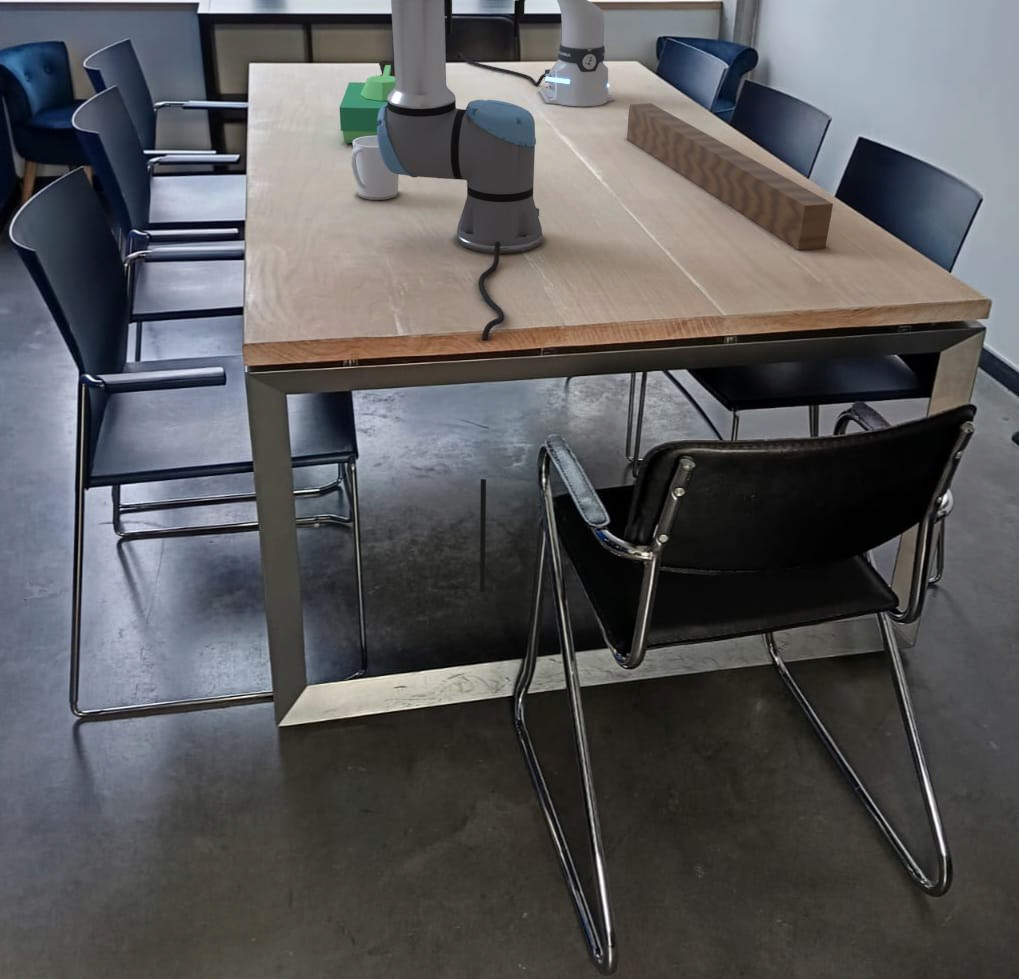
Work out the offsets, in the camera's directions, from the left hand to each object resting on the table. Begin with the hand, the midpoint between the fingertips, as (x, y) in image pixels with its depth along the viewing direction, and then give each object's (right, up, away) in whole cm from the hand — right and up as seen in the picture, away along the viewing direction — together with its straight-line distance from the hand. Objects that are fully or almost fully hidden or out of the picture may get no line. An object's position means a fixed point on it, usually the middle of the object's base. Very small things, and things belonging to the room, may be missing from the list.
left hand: (482, 34), depth 223 cm
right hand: (+35, +29, +22) cm, 50 cm away
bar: (+48, -29, +5) cm, 56 cm away
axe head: (-24, +17, +78) cm, 83 cm away
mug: (-21, -34, -6) cm, 41 cm away
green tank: (-25, -6, +41) cm, 48 cm away
